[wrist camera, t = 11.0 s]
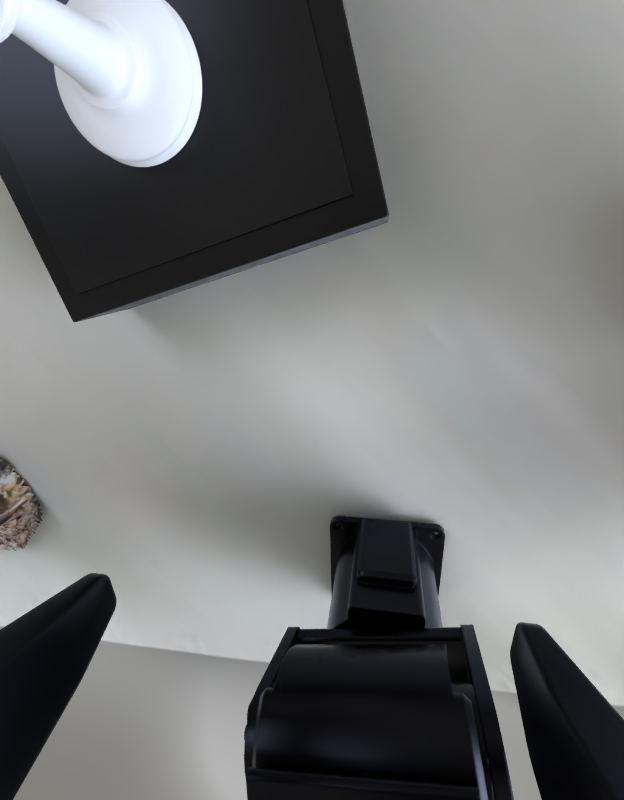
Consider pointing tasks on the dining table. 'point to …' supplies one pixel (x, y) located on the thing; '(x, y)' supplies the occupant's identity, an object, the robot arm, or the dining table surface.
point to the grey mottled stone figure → (16, 509)
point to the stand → (199, 160)
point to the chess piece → (117, 71)
